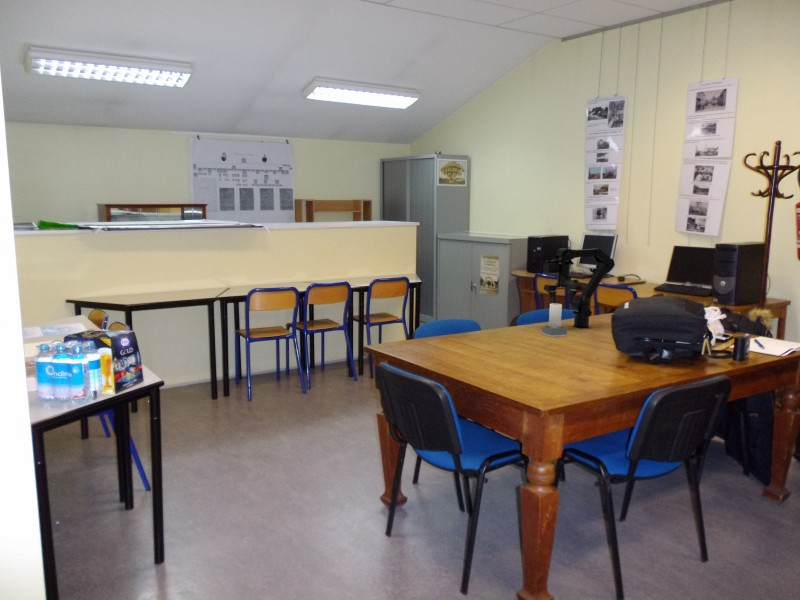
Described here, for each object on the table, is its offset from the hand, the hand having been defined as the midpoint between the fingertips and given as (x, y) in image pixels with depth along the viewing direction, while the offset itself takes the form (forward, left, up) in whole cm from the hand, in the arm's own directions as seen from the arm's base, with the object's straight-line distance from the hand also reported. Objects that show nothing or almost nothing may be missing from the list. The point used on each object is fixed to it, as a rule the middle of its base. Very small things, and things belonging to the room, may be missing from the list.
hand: (562, 304), depth 334 cm
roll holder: (+13, +15, -12) cm, 23 cm away
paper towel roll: (+13, +15, -11) cm, 23 cm away
